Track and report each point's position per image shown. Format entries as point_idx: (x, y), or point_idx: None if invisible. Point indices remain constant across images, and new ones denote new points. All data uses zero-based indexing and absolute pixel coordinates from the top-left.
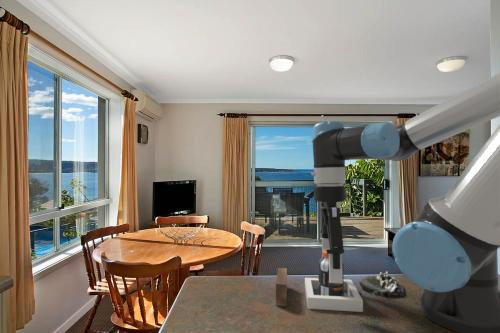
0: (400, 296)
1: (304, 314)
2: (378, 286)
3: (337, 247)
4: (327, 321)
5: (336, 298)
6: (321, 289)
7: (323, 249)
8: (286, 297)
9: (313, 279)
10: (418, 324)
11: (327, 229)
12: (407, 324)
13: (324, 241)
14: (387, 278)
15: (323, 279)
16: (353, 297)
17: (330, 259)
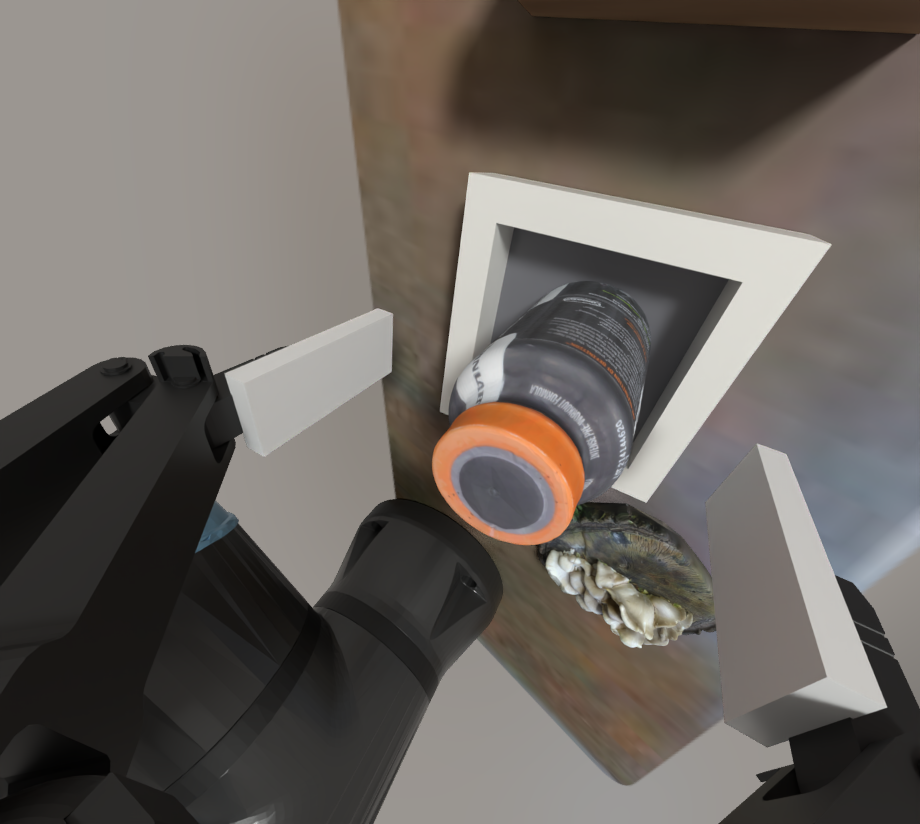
0: (538, 552)
1: (446, 140)
2: (607, 556)
3: (110, 415)
4: (401, 237)
5: (456, 326)
6: (553, 295)
7: (778, 547)
8: (590, 8)
9: (745, 307)
10: (405, 469)
11: (89, 588)
12: (403, 450)
13: (791, 649)
14: (602, 608)
15: (518, 320)
16: None
17: (271, 361)
